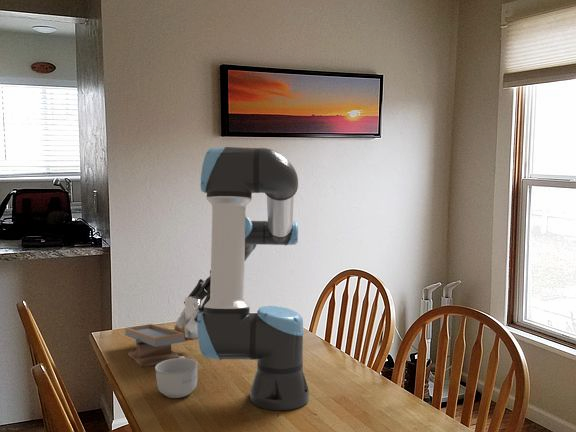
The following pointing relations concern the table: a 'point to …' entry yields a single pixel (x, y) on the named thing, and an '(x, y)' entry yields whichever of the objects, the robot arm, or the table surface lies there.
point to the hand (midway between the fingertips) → (183, 327)
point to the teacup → (176, 377)
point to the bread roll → (182, 331)
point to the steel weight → (191, 314)
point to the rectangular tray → (154, 335)
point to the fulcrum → (151, 354)
